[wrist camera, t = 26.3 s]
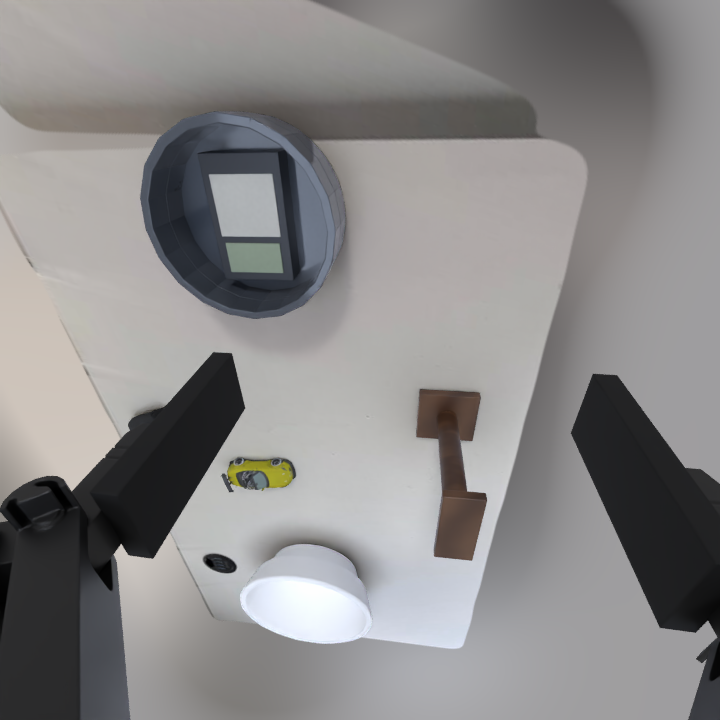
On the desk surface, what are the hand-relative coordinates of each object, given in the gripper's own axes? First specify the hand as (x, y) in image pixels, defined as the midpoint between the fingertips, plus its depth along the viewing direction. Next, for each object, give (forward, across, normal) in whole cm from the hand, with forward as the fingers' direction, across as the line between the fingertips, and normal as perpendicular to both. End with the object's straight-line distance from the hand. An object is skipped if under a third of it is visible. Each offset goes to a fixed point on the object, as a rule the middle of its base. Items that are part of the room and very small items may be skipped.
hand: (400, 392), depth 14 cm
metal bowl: (+25, -15, +1) cm, 29 cm away
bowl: (+26, -15, -61) cm, 67 cm away
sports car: (+26, -21, -36) cm, 48 cm away
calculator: (+25, -15, +1) cm, 29 cm away
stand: (+26, +5, -22) cm, 35 cm away
